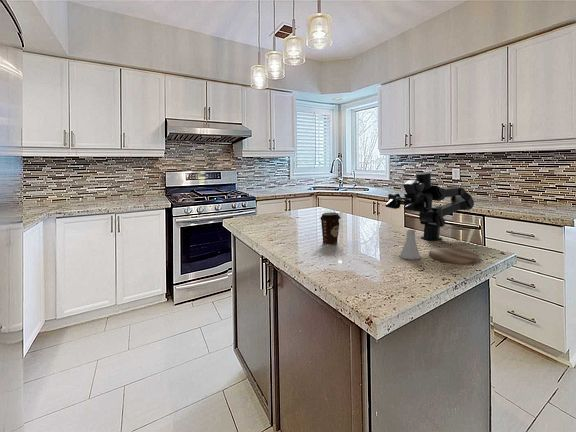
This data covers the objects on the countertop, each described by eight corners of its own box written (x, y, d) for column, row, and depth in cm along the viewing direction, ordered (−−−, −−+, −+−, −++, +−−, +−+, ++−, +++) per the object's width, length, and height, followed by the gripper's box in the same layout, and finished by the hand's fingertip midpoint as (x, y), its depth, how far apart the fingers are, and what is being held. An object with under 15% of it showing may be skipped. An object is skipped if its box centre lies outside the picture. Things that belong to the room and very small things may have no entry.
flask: (422, 260, 109) (424, 232, 108) (400, 260, 111) (401, 232, 109) (418, 254, 116) (419, 228, 115) (397, 254, 118) (398, 228, 116)
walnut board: (447, 248, 123) (447, 245, 123) (489, 259, 109) (489, 255, 109) (419, 255, 116) (419, 251, 116) (460, 267, 102) (460, 263, 102)
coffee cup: (342, 241, 138) (342, 212, 136) (338, 246, 131) (338, 215, 128) (322, 240, 141) (322, 211, 139) (318, 244, 133) (318, 214, 131)
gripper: (400, 178, 137) (375, 185, 129) (440, 180, 122) (415, 188, 114) (401, 203, 140) (377, 211, 132) (441, 208, 124) (416, 217, 117)
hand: (395, 206), depth 124 cm, fingers open, 9 cm apart
